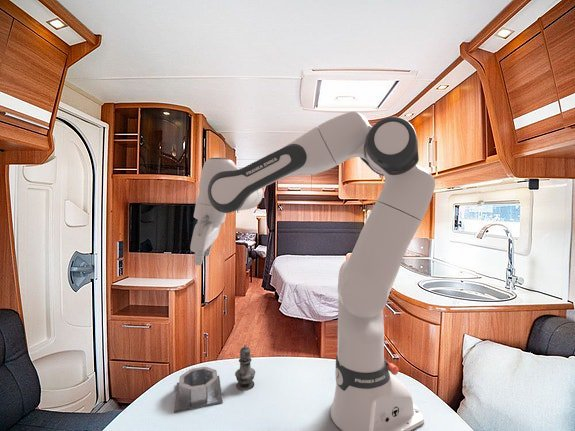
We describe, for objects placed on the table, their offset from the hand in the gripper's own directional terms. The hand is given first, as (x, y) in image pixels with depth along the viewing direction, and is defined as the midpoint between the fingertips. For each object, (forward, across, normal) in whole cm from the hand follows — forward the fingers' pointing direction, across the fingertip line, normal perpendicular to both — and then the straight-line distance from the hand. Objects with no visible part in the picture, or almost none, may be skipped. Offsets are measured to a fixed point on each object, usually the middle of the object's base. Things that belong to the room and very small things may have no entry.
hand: (202, 259), depth 86 cm
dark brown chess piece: (+33, -6, -20) cm, 39 cm away
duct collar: (+35, -9, -7) cm, 37 cm away
